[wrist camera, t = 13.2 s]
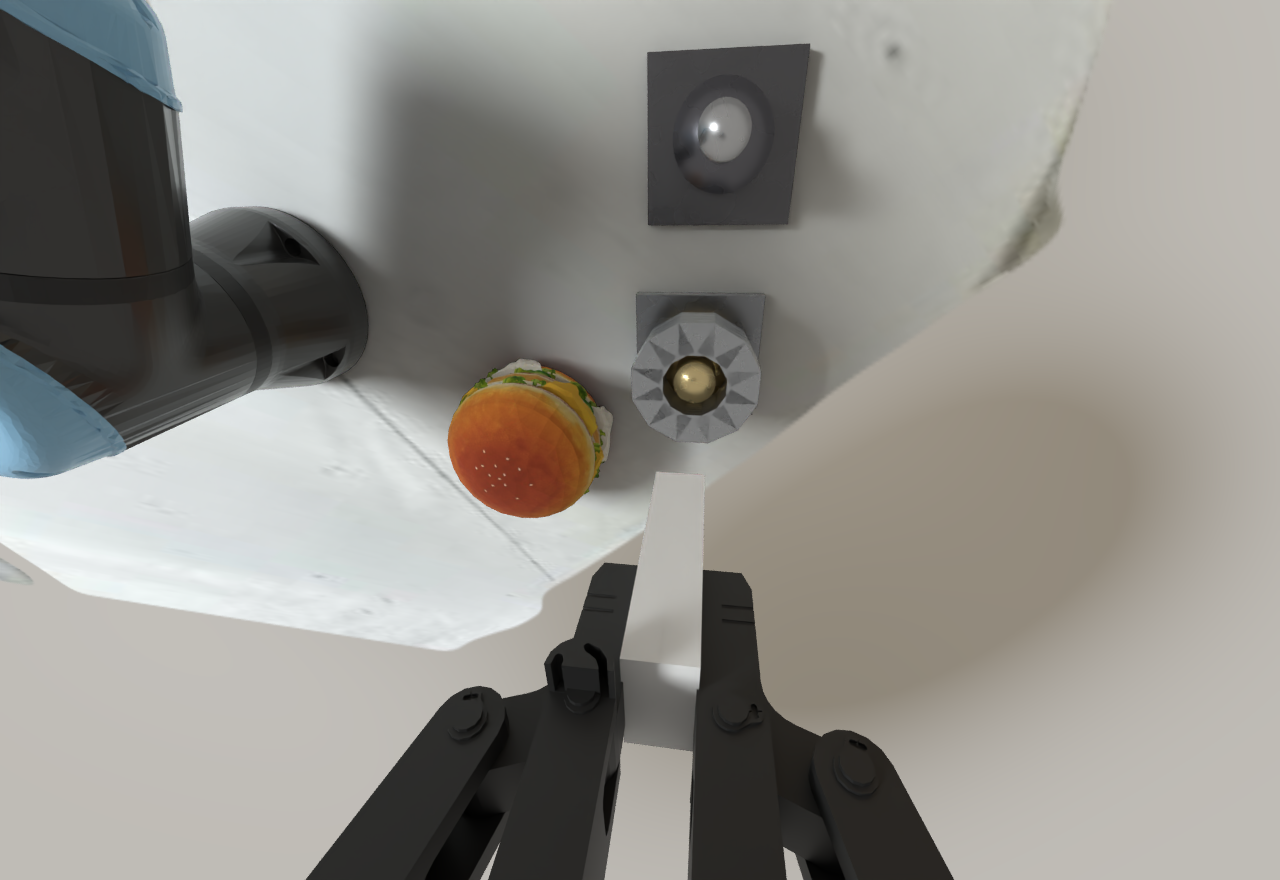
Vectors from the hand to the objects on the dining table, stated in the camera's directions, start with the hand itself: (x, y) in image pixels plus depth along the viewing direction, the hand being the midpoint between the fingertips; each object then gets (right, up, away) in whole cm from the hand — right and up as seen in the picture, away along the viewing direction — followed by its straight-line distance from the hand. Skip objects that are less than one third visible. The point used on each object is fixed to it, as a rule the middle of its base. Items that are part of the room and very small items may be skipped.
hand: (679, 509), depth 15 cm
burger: (-10, +4, +30) cm, 32 cm away
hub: (+4, +10, +25) cm, 27 cm away
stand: (+4, +23, +17) cm, 29 cm away
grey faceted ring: (+3, +7, +21) cm, 22 cm away
